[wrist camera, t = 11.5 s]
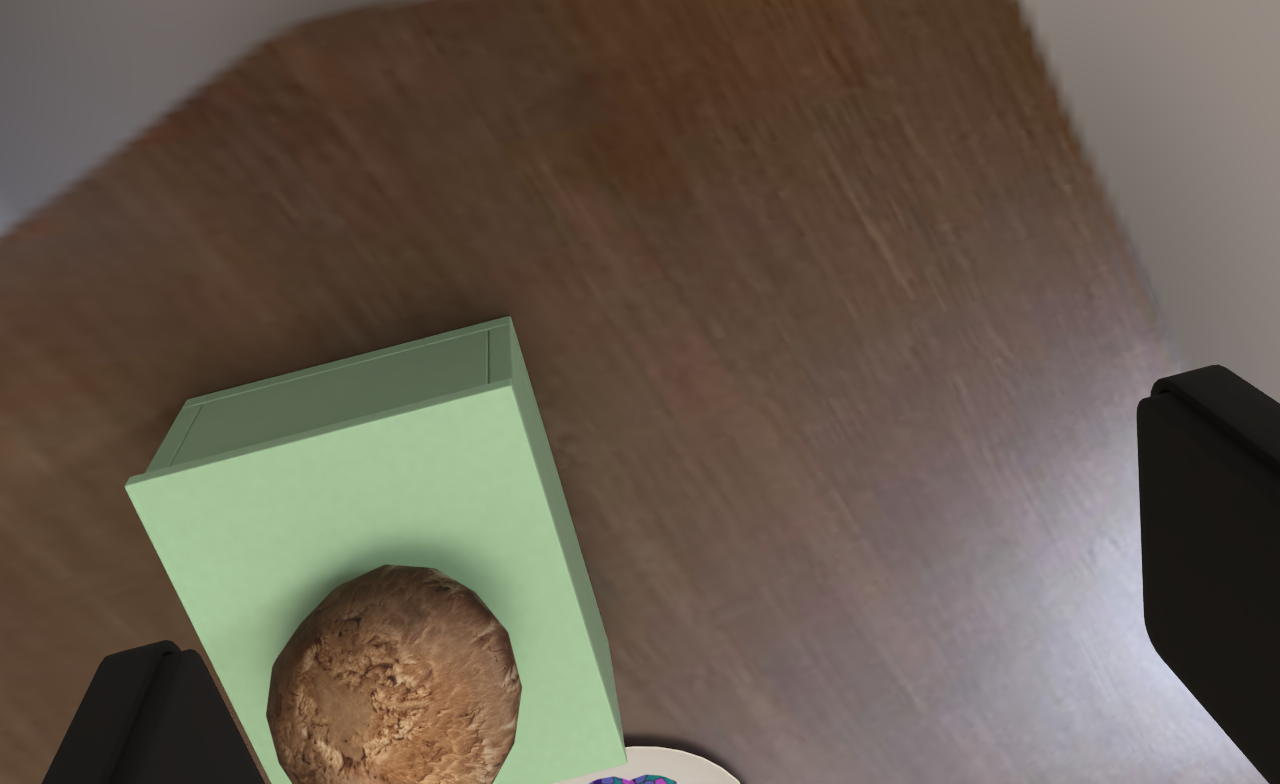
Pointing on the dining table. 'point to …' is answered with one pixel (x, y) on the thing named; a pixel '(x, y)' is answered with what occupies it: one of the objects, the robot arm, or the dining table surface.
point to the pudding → (658, 769)
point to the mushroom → (395, 685)
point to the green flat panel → (386, 557)
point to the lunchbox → (376, 389)
